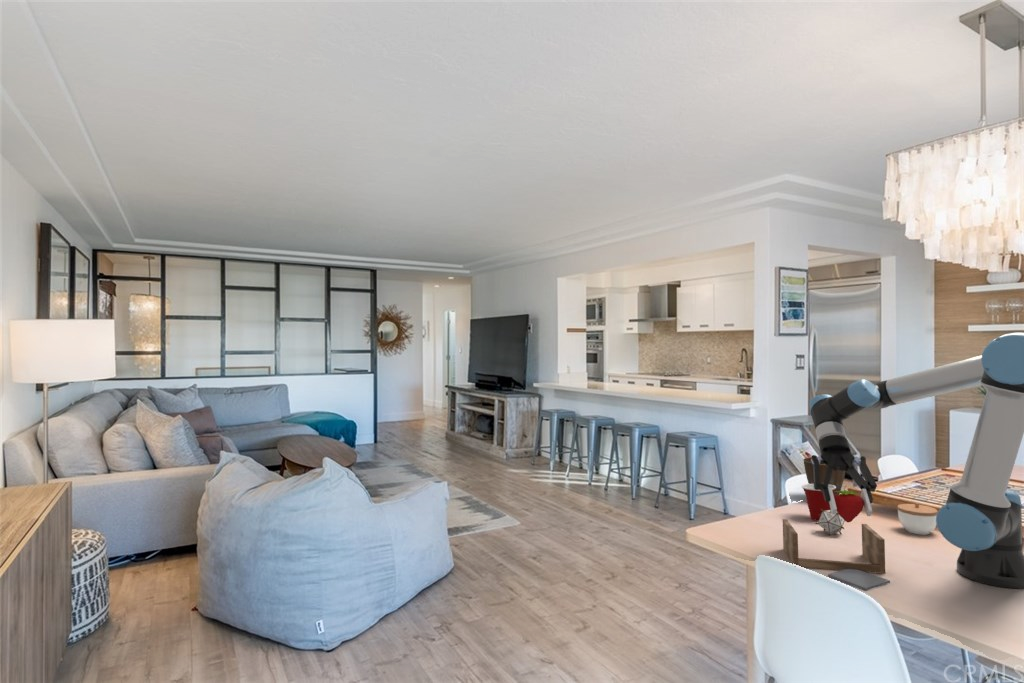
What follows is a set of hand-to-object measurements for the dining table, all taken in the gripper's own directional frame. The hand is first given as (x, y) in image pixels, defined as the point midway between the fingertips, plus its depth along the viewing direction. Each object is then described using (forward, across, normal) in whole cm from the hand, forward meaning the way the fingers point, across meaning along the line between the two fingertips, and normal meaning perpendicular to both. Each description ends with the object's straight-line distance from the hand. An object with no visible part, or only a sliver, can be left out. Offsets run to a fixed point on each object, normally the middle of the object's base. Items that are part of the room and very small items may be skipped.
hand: (851, 512), depth 147 cm
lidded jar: (-21, -31, -46) cm, 60 cm away
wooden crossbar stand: (+3, +2, -22) cm, 22 cm away
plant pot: (-46, -12, -70) cm, 84 cm away
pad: (+12, -1, -13) cm, 17 cm away
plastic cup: (-27, -4, -52) cm, 58 cm away
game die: (-15, -4, -40) cm, 43 cm away
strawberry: (0, 0, -5) cm, 5 cm away
